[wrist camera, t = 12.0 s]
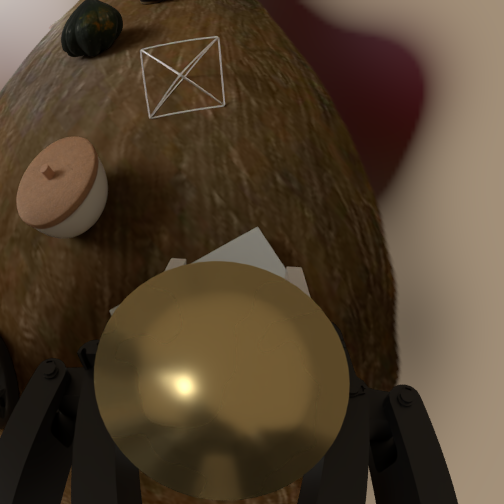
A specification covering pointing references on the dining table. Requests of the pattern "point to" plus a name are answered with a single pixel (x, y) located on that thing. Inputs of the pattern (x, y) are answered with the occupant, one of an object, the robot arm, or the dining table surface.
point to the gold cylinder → (221, 380)
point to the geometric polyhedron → (182, 76)
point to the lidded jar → (63, 189)
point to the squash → (91, 29)
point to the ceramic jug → (150, 1)
